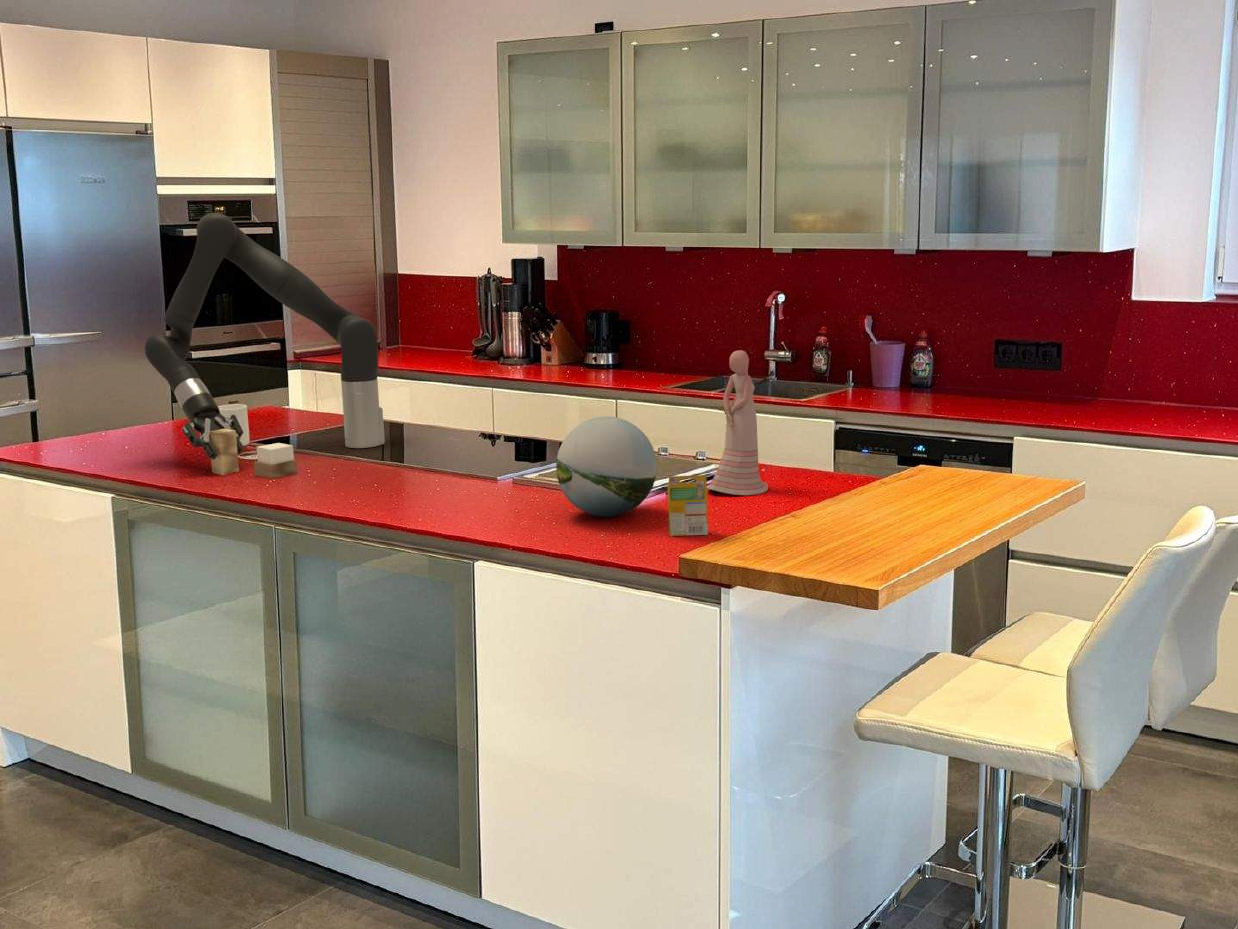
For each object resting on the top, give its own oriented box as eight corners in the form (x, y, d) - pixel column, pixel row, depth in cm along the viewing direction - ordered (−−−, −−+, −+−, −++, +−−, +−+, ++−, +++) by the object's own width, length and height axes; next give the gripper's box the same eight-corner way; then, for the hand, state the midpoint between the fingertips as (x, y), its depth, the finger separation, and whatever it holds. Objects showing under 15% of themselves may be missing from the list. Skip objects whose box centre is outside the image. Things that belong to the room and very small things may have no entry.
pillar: (228, 469, 326) (225, 428, 324) (239, 471, 323) (235, 430, 321) (212, 472, 323) (208, 431, 321) (222, 474, 320) (219, 433, 318)
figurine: (767, 483, 296) (766, 346, 290) (770, 496, 284) (769, 354, 278) (707, 484, 297) (705, 347, 291) (707, 497, 285) (705, 355, 279)
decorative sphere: (650, 501, 282) (648, 406, 278) (664, 525, 263) (662, 423, 259) (554, 506, 280) (550, 411, 276) (562, 530, 260) (558, 428, 256)
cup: (256, 443, 358) (253, 405, 356) (217, 451, 349) (214, 412, 347) (237, 440, 363) (234, 403, 361) (198, 448, 354) (195, 409, 352)
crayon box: (706, 531, 257) (705, 471, 255) (708, 535, 254) (707, 475, 252) (668, 532, 257) (667, 473, 255) (669, 536, 254) (668, 476, 252)
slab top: (279, 457, 323) (278, 442, 322) (294, 460, 319) (292, 445, 318) (257, 461, 318) (256, 446, 318) (272, 464, 314) (270, 449, 314)
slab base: (280, 471, 324) (279, 456, 323) (297, 474, 319) (296, 460, 319) (255, 476, 319) (253, 461, 318) (272, 480, 314) (271, 465, 313)
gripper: (174, 395, 319) (206, 450, 313) (227, 387, 329) (259, 440, 324) (164, 415, 323) (195, 469, 318) (217, 407, 334) (248, 459, 328)
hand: (227, 454), depth 321 cm, fingers open, 6 cm apart
